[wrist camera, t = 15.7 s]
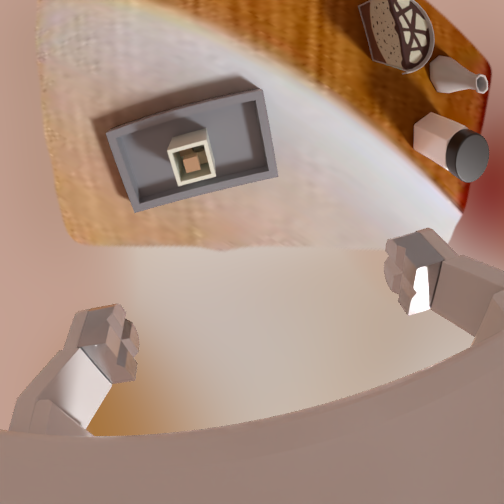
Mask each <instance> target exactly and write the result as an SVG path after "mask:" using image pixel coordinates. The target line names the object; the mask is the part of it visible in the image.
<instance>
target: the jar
mask: <svg viewBox="0 0 504 504" xmlns="http://www.w3.org/2000/svg"><path fill="white" fill-rule="evenodd" d="M413 149H414V150H416V151H417V152H419V153H421V154H422V155H424V156H425V157H427V158H428V159H430V160H432V161H433V162H435V163H437V164H438V165H440V166H441V167H443V168H444V169H446V170H448V171H449V172H451V173H452V174H453V175H454V176H456V177H457V178H459V179H460V180H462V181H464V182H473V181H475V180H476V179H478V178H479V177H480V176H481V175H482V173H483V172H484V170H485V168H486V166H487V163H488V159H489V148H488V144H487V142H486V140H485V138H484V137H483V136H481V135H480V134H478V133H476V132H474V131H472V130H469V129H468V128H467V127H466V126H464V125H462V124H460V123H457V122H455V121H452V120H450V119H448V118H445V117H443V116H440V115H438V114H435V113H433V112H430V113H429V114H427V115H426V116H425V117H423V118H422V119H421V120H419V121H418V122H417V123H415V124H414V143H413Z"/></svg>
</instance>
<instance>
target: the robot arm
mask: <svg viewBox="0 0 504 504" xmlns="http://www.w3.org/2000/svg"><path fill="white" fill-rule="evenodd" d="M385 251H386V252H387V253H388V255H389V257H388V258H387V260H386V261H385V264H384V274H385V279H386V282H387V284H388V286H389V287H390V289H391V291H392V292H395V293H397V294H399V299H398V302H399V303H400V305H401V306H402V308H403V309H404V311H405V312H406V314H407V315H408V316H409V315H412V314H415V313H418V312H421V311H424V310H427V309H430V308H431V310H432V311H434V312H436V313H437V314H439V315H441V316H442V317H444V318H445V319H447V320H449V321H450V322H452V323H454V324H455V325H457V326H458V327H460V328H461V329H463V330H465V331H467V332H468V333H469V334H471V335H473V336H474V337H475V338H474V341H473V342H472V345H471V347H470V348H468V349H466V350H464V351H462V352H460V353H458V354H456V355H453V356H451V357H449V358H447V359H445V360H443V361H440V362H438V363H436V364H434V365H431V366H429V367H427V368H424V369H422V370H420V371H417V372H415V373H413V374H410V375H407V376H405V377H402V378H400V379H397V380H395V381H392V382H389V383H387V384H384V385H381V386H378V387H375V388H373V389H370V390H367V391H364V392H361V393H358V394H355V395H352V396H349V397H346V398H342V399H339V400H336V401H332V402H329V403H325V404H322V405H318V406H314V407H311V408H307V409H303V410H300V411H295V412H291V413H287V414H283V415H279V416H274V417H269V418H265V419H260V420H255V421H250V422H244V423H239V424H233V425H227V426H221V427H214V428H208V429H201V430H192V431H184V432H174V433H163V434H150V435H132V436H94V435H92V434H91V433H89V432H88V431H87V430H86V428H87V426H88V424H89V422H90V421H91V419H92V418H93V416H94V414H95V413H96V411H97V409H98V408H99V406H100V404H101V403H102V401H103V399H104V398H105V396H106V395H107V393H108V391H109V390H110V388H111V386H112V384H113V383H121V382H127V381H134V380H135V379H136V369H137V362H136V360H135V359H134V356H135V355H136V354H137V353H138V351H139V337H138V333H137V330H136V328H135V326H134V325H133V323H132V322H130V321H129V320H127V319H125V316H126V312H125V310H124V309H123V307H122V306H121V305H120V304H113V305H108V306H102V307H97V308H91V309H87V310H82V311H78V312H77V313H76V314H75V316H74V319H73V322H72V325H71V327H70V330H69V333H68V336H67V339H66V342H65V345H64V348H63V350H60V351H59V352H58V353H57V354H56V355H55V356H54V357H53V358H52V359H51V360H50V361H49V363H48V364H47V365H46V366H45V367H44V368H43V369H42V370H41V371H40V373H39V374H38V375H37V376H36V377H35V378H34V379H33V381H32V382H31V383H30V384H29V385H28V386H27V387H26V389H25V390H24V391H23V392H22V393H21V394H20V396H19V397H18V398H17V401H16V404H15V408H14V412H13V415H12V419H11V423H10V427H9V431H7V430H0V504H504V271H503V270H500V269H498V268H495V267H493V266H490V265H488V264H485V263H483V262H480V261H477V260H475V259H472V258H470V257H467V256H465V255H460V256H458V254H457V253H456V252H455V251H454V250H453V249H452V248H451V247H450V246H449V245H448V244H447V243H446V242H445V241H444V240H443V239H442V238H441V237H440V236H439V235H438V234H437V233H436V232H435V231H434V230H433V229H430V228H426V229H422V230H419V231H416V232H414V233H410V234H406V235H403V236H399V237H395V238H391V239H388V240H387V243H386V250H385Z"/></svg>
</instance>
